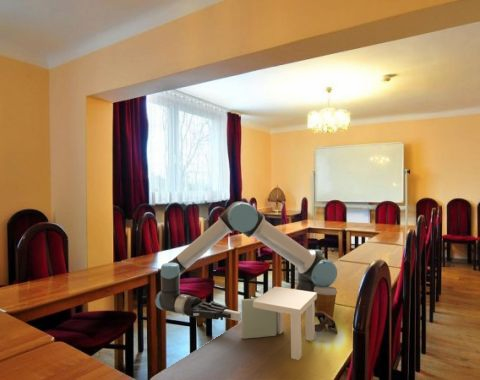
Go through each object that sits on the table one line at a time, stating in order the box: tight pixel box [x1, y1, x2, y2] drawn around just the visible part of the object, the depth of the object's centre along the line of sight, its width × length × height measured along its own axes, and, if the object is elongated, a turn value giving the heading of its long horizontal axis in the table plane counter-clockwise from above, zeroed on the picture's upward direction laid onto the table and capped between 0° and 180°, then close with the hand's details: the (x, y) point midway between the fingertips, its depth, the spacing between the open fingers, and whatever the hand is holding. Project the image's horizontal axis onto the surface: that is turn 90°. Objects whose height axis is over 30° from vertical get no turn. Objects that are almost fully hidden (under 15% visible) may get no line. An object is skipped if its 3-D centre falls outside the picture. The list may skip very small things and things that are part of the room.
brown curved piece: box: [315, 310, 338, 335], centre depth 120 cm, size 12×10×8 cm
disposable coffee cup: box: [314, 285, 338, 319], centre depth 133 cm, size 10×10×12 cm
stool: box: [253, 286, 317, 361], centre depth 110 cm, size 18×16×16 cm
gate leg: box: [241, 297, 279, 340], centre depth 116 cm, size 13×2×13 cm, turn 100°
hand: (239, 316), depth 118 cm, fingers closed
